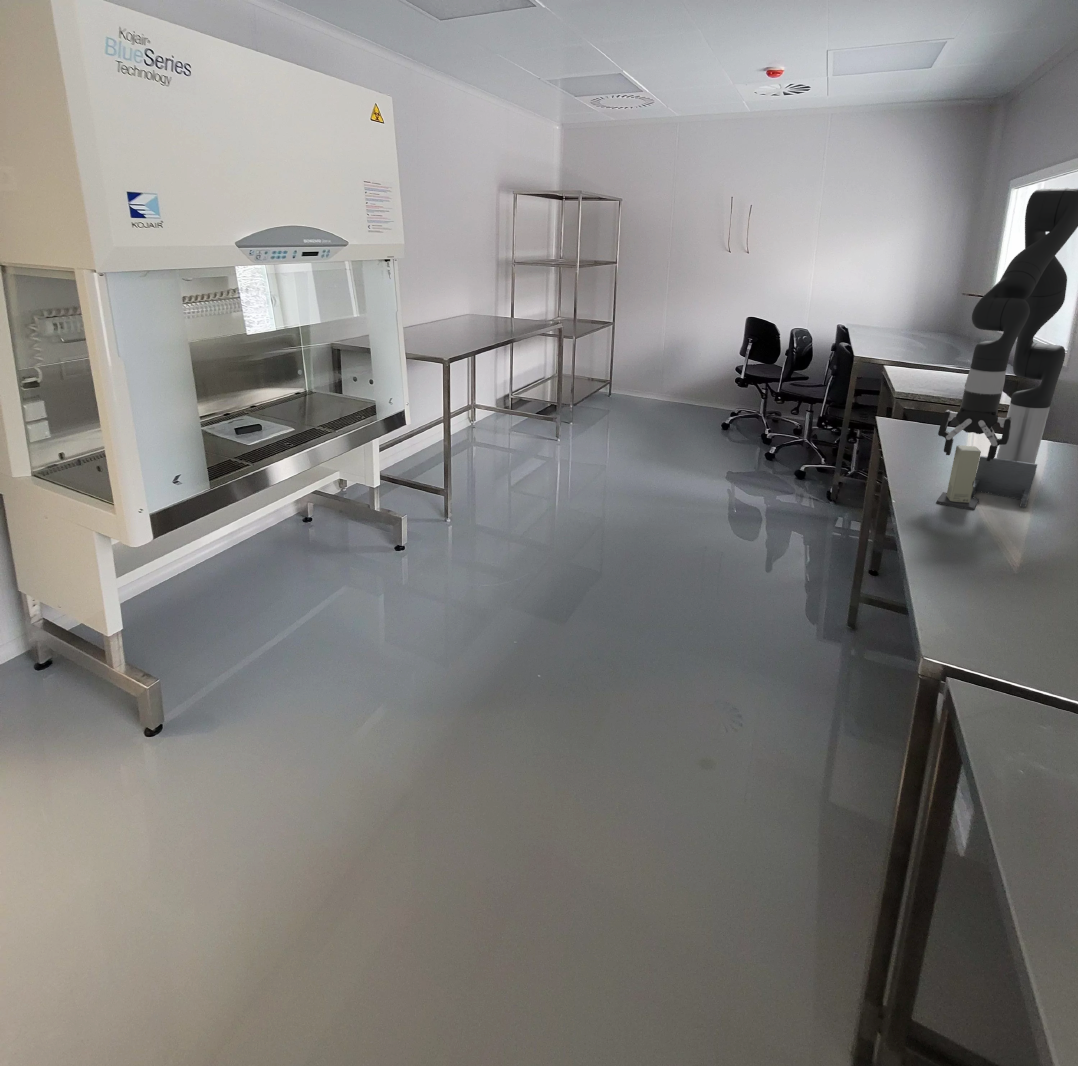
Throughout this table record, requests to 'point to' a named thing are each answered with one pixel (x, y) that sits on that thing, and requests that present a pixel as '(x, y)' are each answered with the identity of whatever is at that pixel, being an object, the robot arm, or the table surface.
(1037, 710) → the table surface
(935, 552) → the table surface
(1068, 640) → the table surface
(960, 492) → the box
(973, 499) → the mat
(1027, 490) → the rack bay
